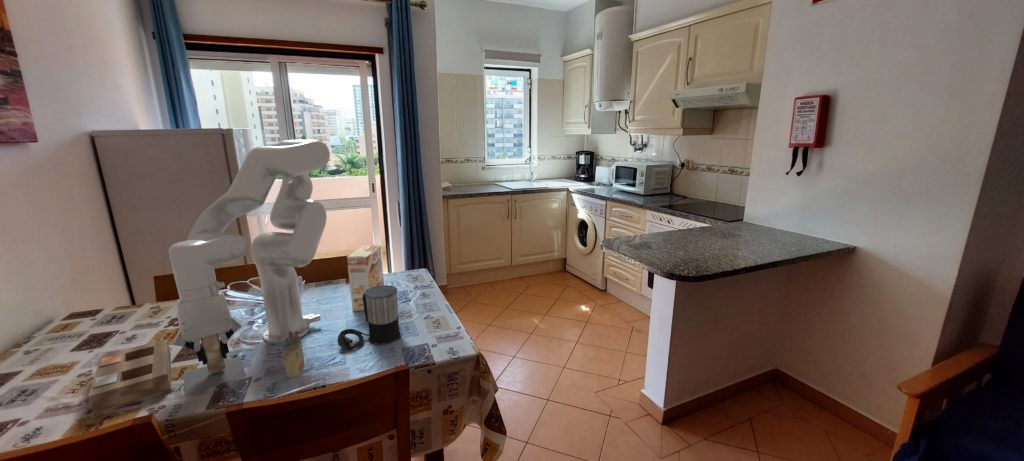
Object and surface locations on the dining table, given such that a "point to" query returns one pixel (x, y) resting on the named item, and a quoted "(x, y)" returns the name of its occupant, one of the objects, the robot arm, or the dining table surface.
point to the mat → (212, 376)
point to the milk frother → (376, 318)
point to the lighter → (293, 355)
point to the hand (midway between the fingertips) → (214, 358)
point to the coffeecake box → (364, 272)
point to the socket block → (131, 376)
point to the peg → (213, 353)
